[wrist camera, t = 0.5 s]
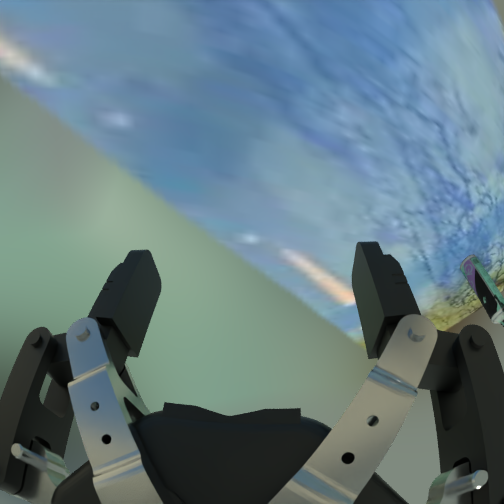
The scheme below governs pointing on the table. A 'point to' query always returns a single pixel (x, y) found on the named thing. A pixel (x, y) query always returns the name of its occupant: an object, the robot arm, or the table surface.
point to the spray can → (484, 288)
